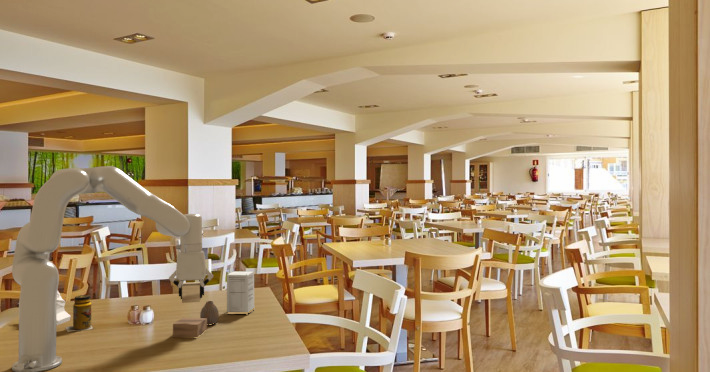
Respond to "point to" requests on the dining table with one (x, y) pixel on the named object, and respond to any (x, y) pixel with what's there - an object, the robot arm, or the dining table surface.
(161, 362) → the dining table surface
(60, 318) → the white faceted lump
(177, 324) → the walnut block
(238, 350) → the dining table surface
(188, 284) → the oak cube
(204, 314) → the vase
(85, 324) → the condiment
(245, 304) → the supplement box
